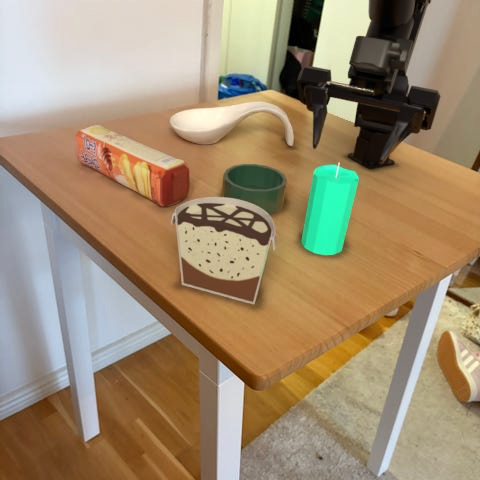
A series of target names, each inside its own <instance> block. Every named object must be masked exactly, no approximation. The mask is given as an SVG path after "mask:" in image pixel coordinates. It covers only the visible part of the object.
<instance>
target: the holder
mask: <svg viewBox="0 0 480 480" xmlns="http://www.w3.org/2000/svg"><path fill="white" fill-rule="evenodd" d="M222 175H223V176H222V187H221V188H222V191H221V197H226V198H234V199H239V200H243V201H246V202H249V203H252V204H254V205H256V206H258V207H260V208H262V209H263V210H265V211H266V212H267V213H268V214H269V215H272V214H275V213H277V212H279V211H281V209H282V208H283V206H284V202H285V196H286V189H287V182H288V179H287V178H286V177H287V176H285V174H284V173H282V172H281V171H280V170H278V169H277V168H274V167H271V166H268V165H263V164H258V163H242V164H236V165H232V166H230V167H228V168H226V169H225V171H224V173H223V174H222Z"/></svg>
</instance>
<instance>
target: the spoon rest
mask: <svg viewBox="0 0 480 480" xmlns="http://www.w3.org/2000/svg"><path fill="white" fill-rule="evenodd" d="M258 113H266V114H270V115H273V116H274V117H276V118H278V119H279V120H280V121H281V123H282V124H283V126H284V140H285V142H286V144H287V145H288V146H289V147H293V146H294V141H295V136H294V129H293V126H292V124H291V121H290V118H289V116H288V115H287V113H286V112H285V111H284V110H283V109H282V108H281V107H279V106H277V105H275V104H273V103H270V102H267V101H263V100H262V101H261V100H255V101H246V102H242V103H237V104H231V105H226V106H215V107H200V108H191V109H184V110H182V111H179V112H176V113H174V114H172V116H171V117H170V119H169V125H170V127H171V128H172V130H173V132H175V133H176V135H178V136H179V137H180V138H182V139H184V140H186V141H188V142H191V143H193V144H197V145H213V144H217V143H218V142H220V140H221V139H223V138H224V137H225V136H226V135H228V134H229V133H230V132H231V131H232V130H234V128H235V127H237V126H238V125H239V124H240V123H242V122H243V121H245V119H247V118H248V117H251V116H252V115H255V114H258Z"/></svg>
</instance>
